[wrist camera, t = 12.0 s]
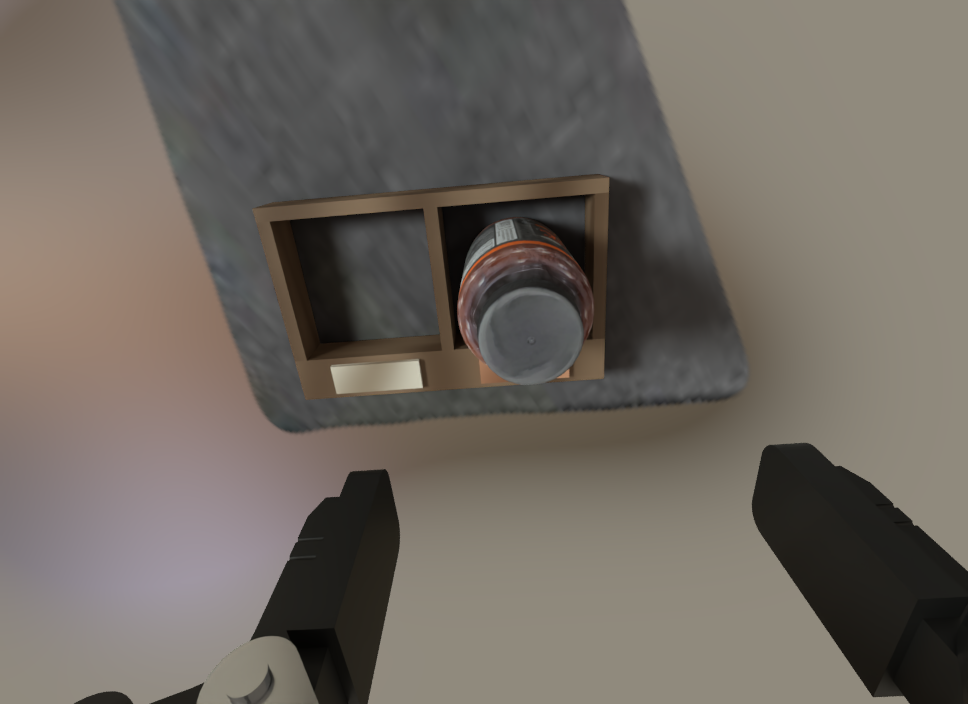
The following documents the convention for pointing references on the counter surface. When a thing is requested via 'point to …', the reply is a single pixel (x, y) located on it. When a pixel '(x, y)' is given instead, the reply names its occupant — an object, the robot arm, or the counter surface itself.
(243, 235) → the counter surface
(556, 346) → the supplement bottle
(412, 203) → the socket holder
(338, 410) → the counter surface
